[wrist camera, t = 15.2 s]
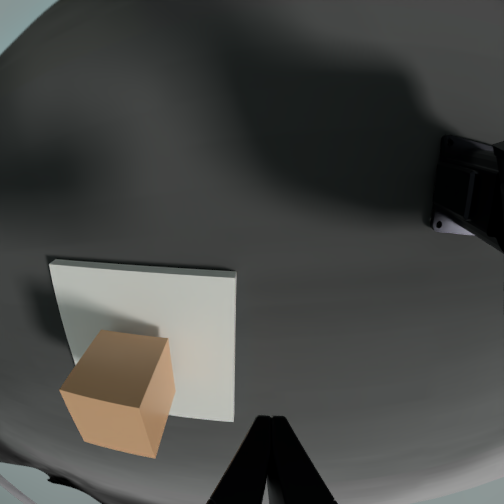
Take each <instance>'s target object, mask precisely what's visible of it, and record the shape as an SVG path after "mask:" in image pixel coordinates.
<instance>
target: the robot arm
mask: <svg viewBox="0 0 504 504" xmlns="http://www.w3.org/2000/svg"><path fill="white" fill-rule="evenodd" d="M448 139H449V140H450V145H449V146H448V144H447V141H448ZM492 146H493V147H492ZM492 146H488V145H485V144H482V143H478V142H474V141H471V140H467V139H463V138H460V137H456V136H452V135H445V136H443V137H442V140H441V149H440V159H439V164H438V165H437V173H436V181H435V188H434V195H433V202H434V205H433V211H432V217H431V224H430V225H431V228H432V229H433V230H435V231H437V232H445V233H455V234H465V235H474V236H477V237H478V238H480V239H482V240H483V241H485V242H486V243H488V244H489V245H491V246H493V247H494V248H496V249H497V250H499V251H500V252H502V253H503V254H504V141H502V142H499V143H496V144H493V145H492ZM438 221H439V225H438V226H436V223H437V222H438ZM266 479H267V486H268V495H269V504H338V503H337V502H336V501H334V497H333V496H332V494H331V493H330V491H329V489H328V488H327V486H326V485H325V483H324V481H323V480H322V478H321V476H320V475H319V473H318V471H317V470H316V468H315V467H314V465H313V463H312V462H311V460H310V458H309V457H308V455H307V453H306V452H305V450H304V448H303V446H302V445H301V443H300V441H299V440H298V438H297V436H296V435H295V433H294V431H293V429H292V428H291V426H290V424H289V422H288V421H287V419H286V418H285V417H284V416H272V417H270V416H265V415H258V416H256V418H255V419H254V421H253V423H252V425H251V427H250V429H249V431H248V432H247V434H246V436H245V438H244V440H243V442H242V443H241V445H240V447H239V449H238V451H237V452H236V454H235V456H234V458H233V459H232V461H231V463H230V465H229V466H228V468H227V470H226V472H225V473H224V475H223V477H222V478H221V480H220V482H219V483H218V485H217V487H216V488H215V490H214V492H213V493H212V495H211V497H210V499H209V500H208V501H207V503H206V504H262V500H263V495H264V490H265V485H266Z"/></svg>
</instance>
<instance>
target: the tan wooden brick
mask: <svg viewBox="0 0 504 504" xmlns="http://www.w3.org/2000/svg"><path fill="white" fill-rule="evenodd" d="M59 390H60V392H61V394H62V397H63V399H64V401H65V403H66V405H67V408H68V410H69V412H70V414H71V416H72V418H73V420H74V422H75V424H76V426H77V428H78V430H79V432H80V434H81V436H82V437H83V439H84V441H85V442H88V443H92V444H95V445H99V446H103V447H106V448H110V449H114V450H118V451H122V452H127V453H131V454H135V455H140V456H145V457H150V458H156V454H157V451H158V448H159V444H160V441H161V438H162V434H163V431H164V428H165V424H166V421H167V418H168V414H169V411H170V408H171V405H172V401H173V398H174V395H175V392H176V390H175V383H174V377H173V370H172V363H171V356H170V348H169V340H168V338H162V337H153V336H145V335H137V334H129V333H122V332H115V331H108V330H100V332H99V333H98V334H97V336H96V337H95V339H94V340H93V341H92V343H91V344H90V346H89V347H88V348H87V350H86V351H85V353H84V354H83V356H82V357H81V358H80V360H79V361H78V363H77V364H76V366H75V367H74V369H73V370H72V372H71V373H70V374H69V376H68V377H67V379H66V380H65V382H64V383H63V385H62V386H61V388H60V389H59Z"/></svg>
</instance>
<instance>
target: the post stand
mask: <svg viewBox="0 0 504 504" xmlns="http://www.w3.org/2000/svg"><path fill="white" fill-rule="evenodd" d="M49 267H50V272H51V277H52V282H53V286H54V291H55V295H56V299H57V303H58V307H59V311H60V315H61V319H62V322H63V326H64V330H65V333H66V336H67V340H68V343H69V346H70V349H71V353H72V356H73V359H74V362H75V365H76V364H77V363H78V361H79V360H80V358H81V357H82V356H83V354H84V353H85V351H86V350H87V348H88V347H89V346H90V344H91V343H92V341H93V340H94V339H95V337H96V336H97V334H98V333H99V332H100V330H108V331H115V332H122V333H129V334H137V335H145V336H153V337H162V338H168V340H169V348H170V356H171V363H172V370H173V377H174V383H175V390H176V392H175V395H174V398H173V401H172V405H171V408H170V411H169V414H168V415H173V416H181V417H188V418H197V419H206V420H216V421H228V422H233V421H234V386H235V319H236V271H220V270H203V269H187V268H171V267H155V266H141V265H126V264H112V263H99V262H86V261H73V260H61V259H55V260H54V261H52V262H51V263H50V264H49Z"/></svg>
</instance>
